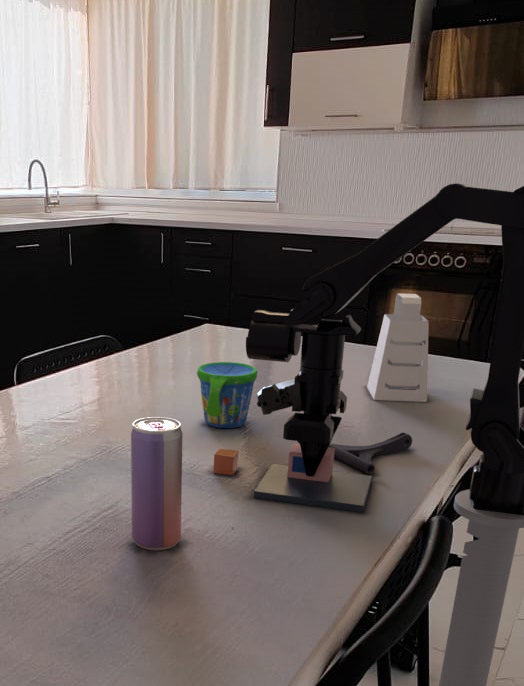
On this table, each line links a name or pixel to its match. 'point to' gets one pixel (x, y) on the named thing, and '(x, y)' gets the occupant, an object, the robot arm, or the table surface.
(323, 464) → the eraser
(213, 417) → the snack cup
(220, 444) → the table surface
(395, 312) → the grater
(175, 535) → the beverage can
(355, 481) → the tray
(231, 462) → the clay cube
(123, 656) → the table surface
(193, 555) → the table surface
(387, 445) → the squeegee
